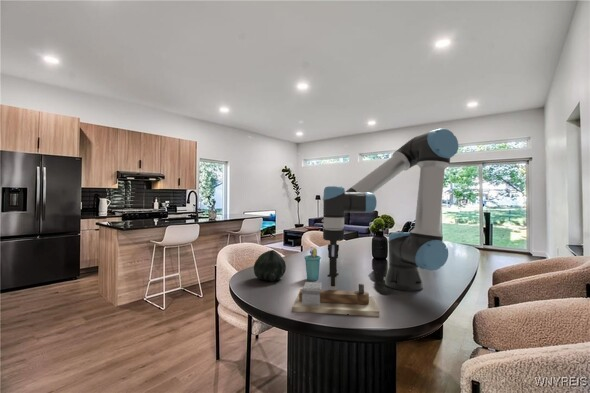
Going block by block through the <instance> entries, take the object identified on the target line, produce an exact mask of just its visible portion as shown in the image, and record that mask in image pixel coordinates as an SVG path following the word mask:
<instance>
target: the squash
mask: <svg viewBox="0 0 590 393" xmlns="http://www.w3.org/2000/svg"><path fill="white" fill-rule="evenodd" d="M286 270H287V265H286V261H285V260H284V258H283V257H282V255H281V254H280V253H279V252H277V251H276V250H275V249H271V250H268V251H264V252H263V253H262V254H260V255H259V256H258V257H257V259H256V260H255V262H254V264H253V274H254V275H255V277H256V278H257V279H259V280H264V281H269V282H274V280H275V282H277V281H279V280H280V279H281V278H282V277H283V276H284V275H285V272H286Z"/></svg>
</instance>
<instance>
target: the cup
mask: <svg viewBox="0 0 590 393" xmlns="http://www.w3.org/2000/svg"><path fill="white" fill-rule="evenodd" d="M309 253H310V254H309V255H305V256H304V260H305V268H306V279H307V280H308V281H309V282H314V281H315V282H316V281H318V280H319V274H320V265H321V264H320V261H321V258H322V257H321V256H320V255H318V251H317V248H316V247H313V249H310V250H309Z"/></svg>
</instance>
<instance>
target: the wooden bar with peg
mask: <svg viewBox="0 0 590 393" xmlns="http://www.w3.org/2000/svg"><path fill="white" fill-rule="evenodd" d="M302 290H303V288H300V290H299V292H298V294H299V301H302ZM369 297H370V293H369V292H368V291H365V284H364V283H358V290H339V289H337V290H329V289H321V292H320V300H321V302H329V303H350V304H360V305H366V304H368V303H369Z"/></svg>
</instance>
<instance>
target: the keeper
mask: <svg viewBox="0 0 590 393" xmlns="http://www.w3.org/2000/svg"><path fill="white" fill-rule="evenodd" d="M322 287H323V286H322V282H316V281H315V282H314V281H305V283H304V285H303V287H302V289H303V290H302V306H320V303H321V300H320V292H321V290H322Z"/></svg>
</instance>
